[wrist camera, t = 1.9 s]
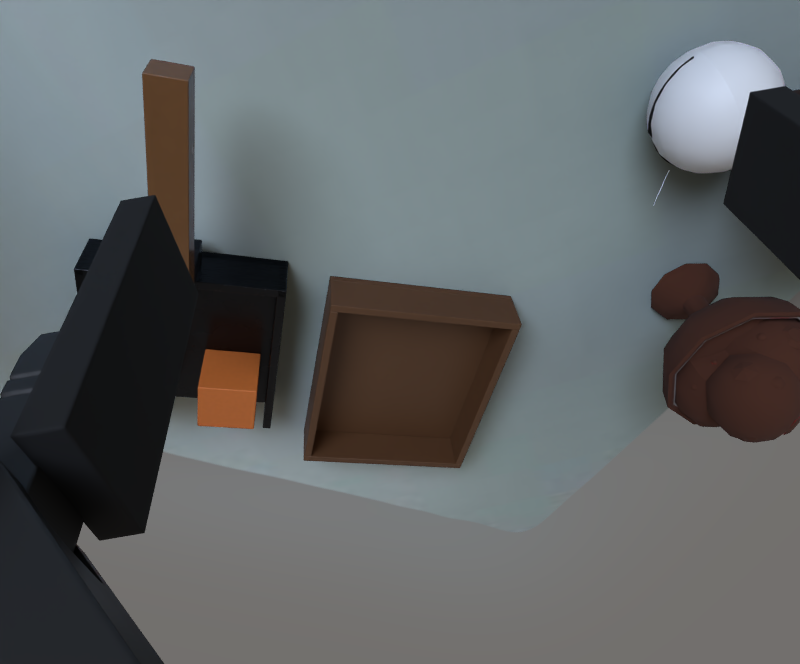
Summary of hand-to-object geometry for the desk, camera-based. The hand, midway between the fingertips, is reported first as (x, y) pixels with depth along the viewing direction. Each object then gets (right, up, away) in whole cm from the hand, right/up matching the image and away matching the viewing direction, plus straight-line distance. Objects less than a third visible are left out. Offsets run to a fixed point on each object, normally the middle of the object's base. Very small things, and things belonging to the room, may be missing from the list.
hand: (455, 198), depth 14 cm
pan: (-16, +3, +29) cm, 33 cm away
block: (-15, -6, +36) cm, 39 cm away
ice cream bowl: (+22, 0, +36) cm, 42 cm away
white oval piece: (+16, +12, +26) cm, 33 cm away
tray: (-1, -6, +39) cm, 39 cm away
